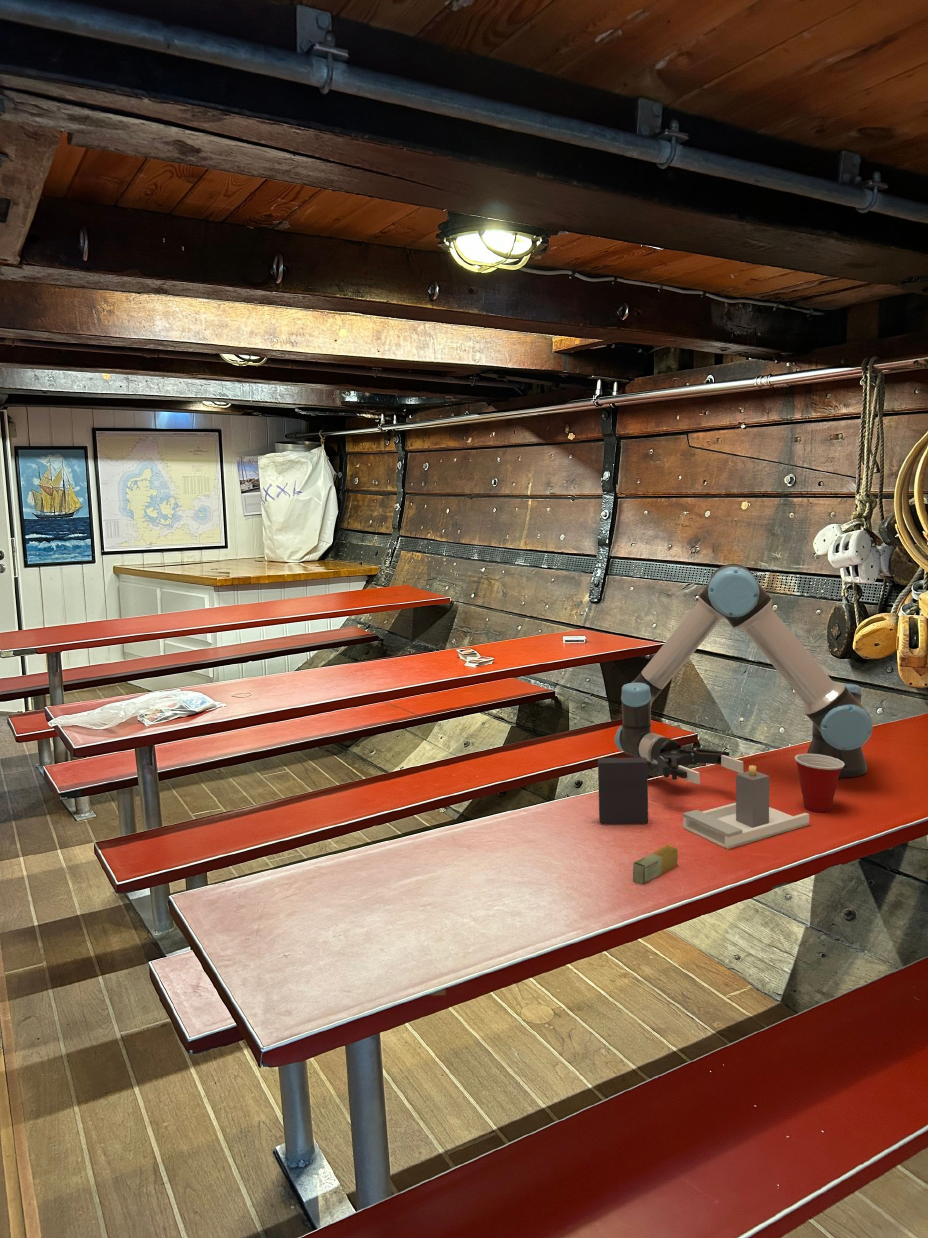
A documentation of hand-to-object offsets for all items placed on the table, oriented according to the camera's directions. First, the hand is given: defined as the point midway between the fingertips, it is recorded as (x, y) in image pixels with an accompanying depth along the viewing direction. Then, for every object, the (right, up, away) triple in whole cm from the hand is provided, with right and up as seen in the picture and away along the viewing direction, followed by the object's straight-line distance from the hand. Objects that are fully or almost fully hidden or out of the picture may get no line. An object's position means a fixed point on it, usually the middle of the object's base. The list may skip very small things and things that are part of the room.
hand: (720, 773), depth 200 cm
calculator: (-23, -11, -3) cm, 26 cm away
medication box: (-22, -15, -29) cm, 39 cm away
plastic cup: (+23, -9, 0) cm, 25 cm away
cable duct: (+3, -10, -8) cm, 14 cm away
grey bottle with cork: (+5, -10, -8) cm, 13 cm away
